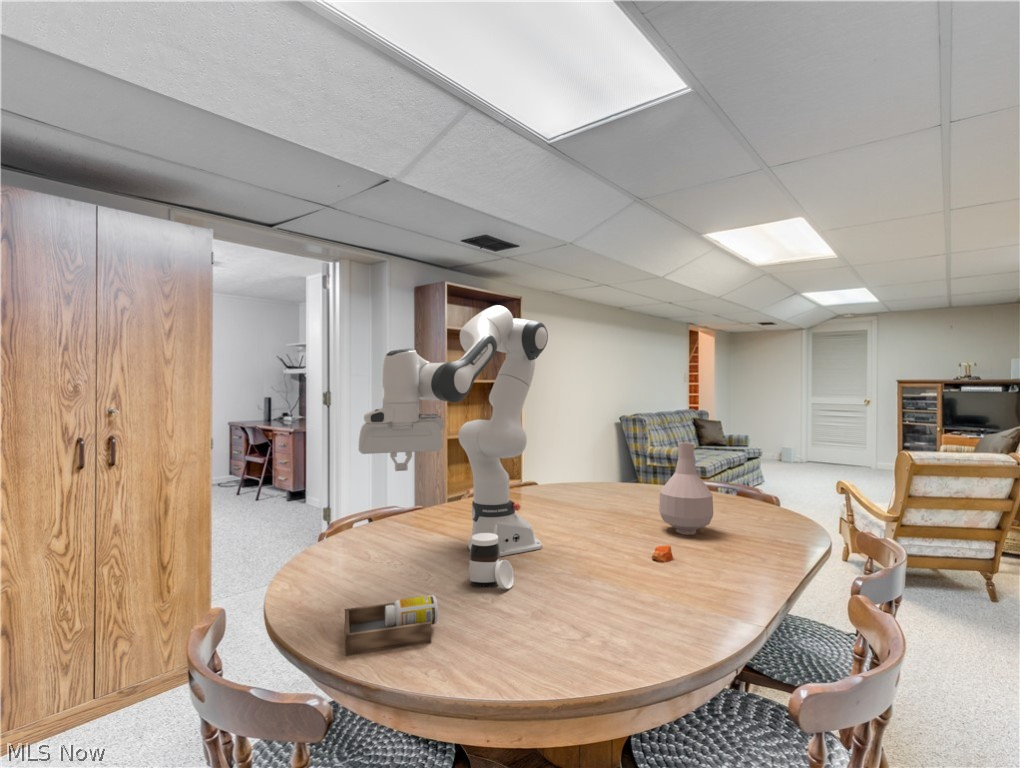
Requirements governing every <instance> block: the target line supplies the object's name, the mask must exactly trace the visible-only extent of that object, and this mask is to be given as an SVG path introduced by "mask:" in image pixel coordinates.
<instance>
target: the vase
mask: <svg viewBox="0 0 1020 768" xmlns="http://www.w3.org/2000/svg"><path fill="white" fill-rule="evenodd" d="M677 443H678V445H677V447H678V448H677V449H678V453H677V454H678V456H677V457H678V458H677V462H676V466H675V472H673V475H672V476H671V477H670V478H669V479H668V480H667V481H666V483H665V484H664V486H663V487H662V488H661V489H660V491H659V506H658V512H659V513H660V517H661V519H662V521H664V523H666V524H668V525H670V527H673V528H675V532H676V533H677V534H681V535H687V536H689V535H696V534H697V530H699V529H701V528H704V527H707V526H709V525H710V524H711V522H712V519H713V516H714V498H713V492H712V491H711V490H710V488H709V487H708V485H706V483H705V482H704V480H703V479H702V478H701V477H700V475H699V474H698V472H697V468H696V467H697V466H696V463H695V458H694V457H695V456H694V455H695V454H694V453H695V452H694V449H695V448H694V444H695V443H694V442H685V441H684V442H677Z"/></svg>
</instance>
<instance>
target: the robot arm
mask: <svg viewBox="0 0 1020 768" xmlns="http://www.w3.org/2000/svg"><path fill="white" fill-rule="evenodd" d="M548 339H549V334H548V329H547V328H546V325H545V324H544V323H543V322H540V321H538V320H536V319H531V320H529V319H524V318H517V317H515V318H514V316H513V314H512V312H511V311H510V310H509V309H508V308H507V307H505V306H503V305H500V304H499V305H498V304H495V305H492V306H490V307H487V308H485V309H483V310H482V311H480V312H479V313H477V314H476V315H475V316H473V317H472V318H471V319H469V320H468V321H467V322H466V323H465V324H464V325H463V326H462V328H461V330H460V331H459V342H460V345H461V347H462V349H463V352H465V353H464V354H463V356H462V357H461V358H460V359H458V360H453V361H447V362H430V361H428V360H426V359H425V358H423V357H421V356H420V355H419V354H418V353H417V350H416V349H414V348H402V349H394V350H390V351H388V353H386V354H385V357H384V359H383V365H382V388H383V392H384V393H383V398H382V407H381V408H376V409H374V410H372V411H369V412H366V413H365V414H364V416H363V421H364V423H363V425H362V426H361V428H360V431H359V437H358V451H359V452H360V454H362V455H367V454H368V455H371V454H372V455H373V454H374V455H375V454H389V456H390V459H391V460H392V461H393V463H394V470H395V472H402V471H403V472H406V471H408V464H409V462H410V461H411V459H412V458H413V453H417V452H420V453H421V452H439V451H441V450H442V448H443V435H442V431H443V427H444V420H443V418H442V416H440V415H438V414H437V413H431V414H430V413H420V401H439V402H441V401H442V402H448V403H458V402H459V403H460V402H461V401H463V400H464V399H465V398H466V397H467V395H468V394H469V392H470V390H471V388H472V387H473V384H474V382H475V381H476V379H477V377H479V375H480V374H481V373H482V371H483V370H484V369H485V368H486V367H487V365H488V364H489V363H490V362H491V361H492V359H493V358H494V356H495V355H496V353H497V352H500V353H504V354H505V359H504V361H503V363H502V365H501V367H500V369H499V371H498V373H497V376H496V378H495V380H494V383H493V385H492V388H491V390H490V393H489V394H488V401H489V403H490V405H491V406H492V413H491V418H490V419H489V420H488V419H474V420H470V421H466V422H465V423H463V424H462V426H461V427H460V429H459V431H458V441H459V444H460V446H461V447H462V448H463V450H464V451H465V454H466V455H467V458H468V462H469V465H470V468H471V473H472V481H473V484H472V485H473V501H472V503H471V505H472V506H471V519H472V528H471V534H470V539H469V543H468V546H467V547H468V549H469V550H470V548H471V545H472V536H473V535H475V534H478V533H493V534H496V535H498V545H499V548H500V557H504V556H508V555H509V556H510V555H514V554H519V553H521V554H522V553H527V552H531V551H535V550H540V549H542V546H543V545H542V542H541V540H540V539H539V538H537V536H535V534H534V529H533V526H532V525H531V523H530V522H529V521H528V520H527V519H525V518H524V517H522V516H521V515H520V514H518V513H517V512H518V511H520V509H521V505H520V504H519V503H518V502H514V501H513V500H511V499H510V475H509V473H508V472H507V471H506V470H505V468H504V466H503V464H502V461H501V459H510V458H515V457H516V458H517V457H519V456H520V455H521V454H523V453H524V450H525V449H526V446H527V434H526V431H525V430H524V428H523V426H522V425H523V424H522V411H523V408H524V404H525V401H526V398H527V397H528V393H529V390H530V388H531V383H532V381H533V378H534V373H535V369H536V359H538V357H539V356H540V354H542V352H543V351H544V350H545V348H546V346H547V344H548ZM398 453H404V454H405V455H404V456H406V458H405V460H404V462H398V461H397V459H396V458H397V457H398ZM516 511H517V512H516Z"/></svg>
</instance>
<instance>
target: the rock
mask: <svg viewBox="0 0 1020 768" xmlns="http://www.w3.org/2000/svg"><path fill="white" fill-rule="evenodd" d="M651 559H653V560H655V561H657V562H660V563H668V562H670V561H672V560H674V556H673V552H672V546H671V544H667V545H666V544H665V545H656V546H655V548H654V552H653V553H652V556H651Z"/></svg>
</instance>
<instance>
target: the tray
mask: <svg viewBox="0 0 1020 768" xmlns="http://www.w3.org/2000/svg"><path fill="white" fill-rule="evenodd" d="M388 605H395V602H387V603H381V604H374V605H367V606H358V607H352V608H351V607H350V608H344V655H345V657H349V656H354V655H355V656H357V655H363V654H368V653H375V652H381V651H387V650H393V649H394V650H395V649H399V648H406V647H411V646H413V647H414V646H420V645H424V644H431V643H432V624H431V622H424V623H417V624H410V625H403V626H395V625H394V626H392V627H391V626H390V627H386V623H385V606H388Z"/></svg>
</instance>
